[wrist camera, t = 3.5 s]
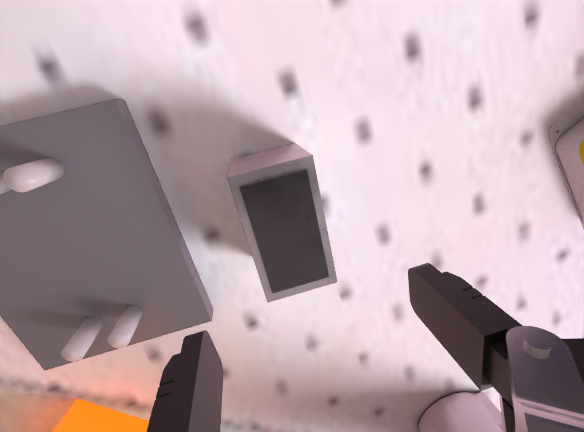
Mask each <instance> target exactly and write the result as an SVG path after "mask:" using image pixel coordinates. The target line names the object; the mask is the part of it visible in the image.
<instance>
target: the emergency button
mask: <svg viewBox="0 0 584 432" xmlns="http://www.w3.org/2000/svg"><path fill="white" fill-rule="evenodd" d="M549 140H550V143H551V145H552V148H553V150H554V153H555V156H556V158H557V161H558V163H559V166H560V168H561V171H562V174H563V176H564V179H565V181H566V184H567V186H568V189H569V192H570V194H571V197H572V199H573V202H574V205H575V207H576V210H577V212H578V215H579V217H580V220H581V223H582V225H583V228H584V100H582V101H581V102H580V103H579V104H577V105H576V106H575V107H574V108H572V109H571V110H570V111H569V112H567V113H566V114H565V115H564V116H562V117H561V118H560V119H559V120H557V121H556V122H555V123H554V124H553V125H552V127H551V128H550V131H549Z"/></svg>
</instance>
